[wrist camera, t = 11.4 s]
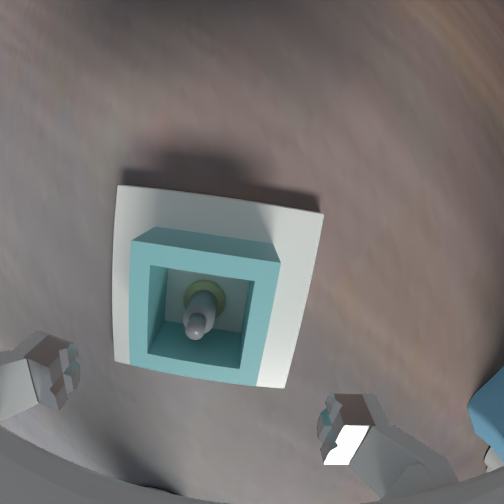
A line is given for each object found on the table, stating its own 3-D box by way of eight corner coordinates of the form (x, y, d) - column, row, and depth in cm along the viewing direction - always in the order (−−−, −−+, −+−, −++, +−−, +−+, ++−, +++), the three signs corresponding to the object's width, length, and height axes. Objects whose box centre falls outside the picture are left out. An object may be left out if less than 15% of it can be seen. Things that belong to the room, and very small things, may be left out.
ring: (273, 243, 18) (281, 262, 14) (254, 348, 19) (256, 386, 15) (155, 226, 17) (131, 240, 13) (149, 331, 19) (129, 364, 15)
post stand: (320, 212, 18) (347, 225, 13) (282, 380, 21) (291, 430, 16) (124, 184, 18) (83, 188, 12) (119, 353, 20) (92, 396, 15)
